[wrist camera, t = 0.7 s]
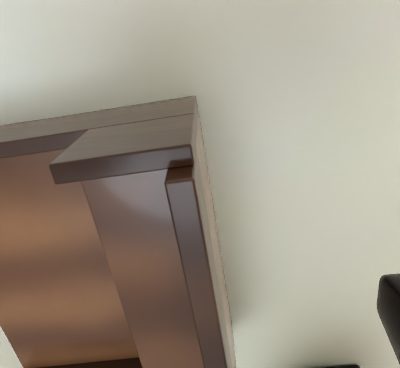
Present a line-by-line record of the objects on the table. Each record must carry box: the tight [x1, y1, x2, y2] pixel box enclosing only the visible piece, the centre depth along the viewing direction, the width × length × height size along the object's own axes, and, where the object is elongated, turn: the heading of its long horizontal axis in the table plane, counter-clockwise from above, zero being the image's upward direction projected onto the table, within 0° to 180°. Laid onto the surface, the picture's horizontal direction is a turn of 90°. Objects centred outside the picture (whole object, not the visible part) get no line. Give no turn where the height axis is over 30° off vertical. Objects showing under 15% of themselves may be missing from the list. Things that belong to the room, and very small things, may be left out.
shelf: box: [0, 96, 236, 368], centre depth 19 cm, size 19×16×10 cm
